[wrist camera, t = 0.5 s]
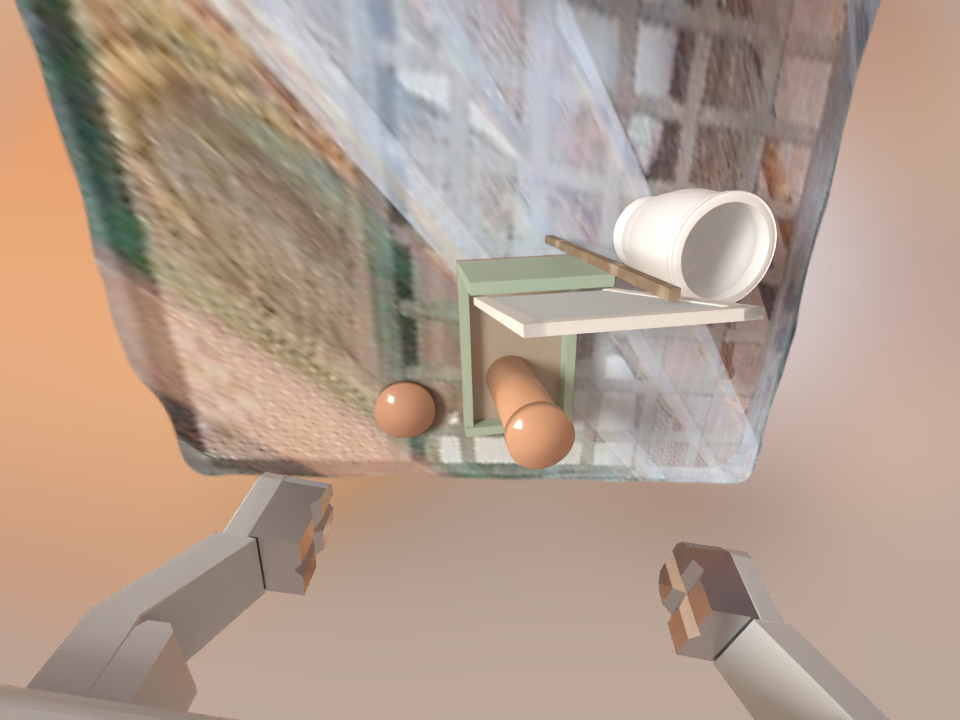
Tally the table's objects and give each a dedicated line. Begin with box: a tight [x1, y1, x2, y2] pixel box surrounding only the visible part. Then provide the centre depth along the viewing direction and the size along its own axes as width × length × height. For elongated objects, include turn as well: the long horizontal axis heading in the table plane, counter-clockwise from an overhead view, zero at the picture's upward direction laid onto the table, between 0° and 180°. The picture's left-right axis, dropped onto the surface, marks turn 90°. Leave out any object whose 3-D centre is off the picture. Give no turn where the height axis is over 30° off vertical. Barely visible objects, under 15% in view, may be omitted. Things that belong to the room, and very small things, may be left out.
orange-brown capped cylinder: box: [486, 355, 575, 469], centre depth 51 cm, size 7×7×15 cm
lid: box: [474, 288, 765, 338], centre depth 33 cm, size 19×14×1 cm
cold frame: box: [456, 254, 615, 437], centre depth 52 cm, size 22×14×12 cm, turn 2°
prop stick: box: [545, 235, 681, 301], centre depth 41 cm, size 1×1×27 cm
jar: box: [613, 189, 777, 303], centre depth 48 cm, size 11×10×15 cm
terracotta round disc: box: [375, 381, 435, 438], centre depth 58 cm, size 8×8×1 cm
